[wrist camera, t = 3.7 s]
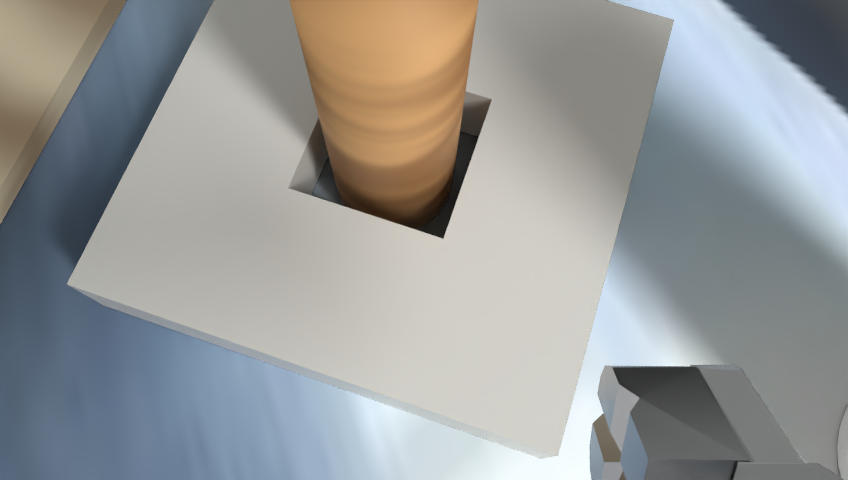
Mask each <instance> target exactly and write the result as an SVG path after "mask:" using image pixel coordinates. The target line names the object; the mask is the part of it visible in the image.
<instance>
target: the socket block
mask: <svg viewBox="0 0 848 480" xmlns="http://www.w3.org/2000/svg"><path fill="white" fill-rule="evenodd" d="M673 22H674V20H672V19H669V18H665V17H662V16H659V15H655V14H652V13H648V12H645V11H641V10H638V9H634V8H631V7H628V6H624V5H621V4H617V3H614V2H610V1H607V0H479V1H478V8H477V15H476V22H475V29H474V36H473V43H472V50H471V57H470V64H469V71H468V78H467V85H466V92H465V99H464V106H463V113H462V120H461V127H460V131H462V132H465V133H468V134H471V135H475V136H478V137H479V138H478V141H477V144H476V147H475V149H474V152H473V155H472V158H471V161H470V164H469V167H468V169H467V172H466V175H465V178H464V181H463V184H462V187H461V190H460V192H459V195H458V198H457V201H456V204H455V207H454V210H453V212H452V215H451V218H450V221H449V224H448V227H447V230H446V232H445V235H444V238H440V237H437V236H434V235H430V234H427V233H424V232H421V231H418V230H415V229H412V228H409V227H406V226H403V225H400V224H397V223H394V222H391V221H388V220H385V219H381V218H378V217H375V216H372V215H369V214H366V213H363V212H360V211H357V210H354V209H351V208H348V207H345V206H342V205H339V204H336V203H332V202H329V201H326V200H323V199H320V198H317V197H314V196H311V195H312V192H313V190H314V188H315V185H316V183H317V181H318V178H319V176H320V174H321V171H322V169H323V166H324V164H325V162H326V159H327V157H328V151H327V147H326V143H325V139H324V135H323V131H322V127H321V123H320V120H319V116H318V112H317V108H316V104H315V100H314V96H313V92H312V88H311V84H310V80H309V76H308V72H307V68H306V64H305V60H304V56H303V52H302V48H301V44H300V40H299V36H298V32H297V28H296V25H295V21H294V17H293V13H292V9H291V5H290V1H289V0H214V1H213V3H212V5H211V7H210V9H209V11H208V13H207V15H206V16H205V18H204V20H203V22H202V24H201V26H200V28H199V30H198V32H197V34H196V36H195V38H194V40H193V42H192V43H191V45H190V47H189V49H188V51H187V53H186V55H185V57H184V59H183V61H182V63H181V65H180V67H179V69H178V70H177V72H176V74H175V76H174V78H173V80H172V82H171V84H170V86H169V88H168V90H167V92H166V94H165V96H164V97H163V99H162V101H161V103H160V105H159V107H158V109H157V111H156V113H155V115H154V117H153V119H152V121H151V123H150V124H149V126H148V128H147V130H146V132H145V134H144V136H143V138H142V140H141V142H140V144H139V146H138V148H137V150H136V152H135V153H134V155H133V157H132V159H131V161H130V163H129V165H128V167H127V169H126V171H125V173H124V175H123V177H122V179H121V180H120V182H119V184H118V186H117V188H116V190H115V192H114V194H113V196H112V198H111V200H110V202H109V204H108V206H107V207H106V209H105V211H104V213H103V215H102V217H101V219H100V221H99V223H98V225H97V227H96V229H95V231H94V233H93V234H92V236H91V238H90V240H89V242H88V244H87V246H86V248H85V250H84V252H83V254H82V256H81V258H80V260H79V261H78V263H77V265H76V267H75V269H74V271H73V273H72V275H71V277H70V279H69V281H68V283H67V285H69V286H71V287H72V288H74V289H76V290H78V291H79V292H81V293H83V294H85V295H86V296H88V297H90V298H92V299H94V300H95V301H97V302H99V303H101V304H102V305H104V306H106V307H109V308H112V309H115V310H118V311H121V312H123V313H126V314H129V315H132V316H135V317H138V318H141V319H143V320H146V321H149V322H152V323H155V324H158V325H161V326H163V327H166V328H169V329H172V330H175V331H178V332H181V333H183V334H186V335H189V336H192V337H195V338H198V339H201V340H203V341H206V342H209V343H212V344H215V345H218V346H221V347H223V348H226V349H229V350H232V351H235V352H238V353H241V354H243V355H246V356H249V357H252V358H255V359H258V360H261V361H263V362H266V363H269V364H272V365H275V366H278V367H281V368H283V369H286V370H289V371H292V372H295V373H298V374H301V375H303V376H306V377H309V378H312V379H315V380H318V381H321V382H323V383H326V384H329V385H332V386H335V387H338V388H341V389H343V390H346V391H349V392H352V393H355V394H358V395H361V396H363V397H366V398H369V399H372V400H375V401H378V402H381V403H383V404H386V405H389V406H392V407H395V408H398V409H401V410H403V411H406V412H409V413H412V414H415V415H418V416H421V417H423V418H426V419H429V420H432V421H435V422H438V423H441V424H443V425H446V426H449V427H452V428H455V429H458V430H461V431H463V432H466V433H469V434H472V435H475V436H478V437H481V438H483V439H486V440H489V441H492V442H495V443H498V444H501V445H503V446H506V447H509V448H512V449H515V450H518V451H521V452H523V453H526V454H529V455H532V456H535V457H538V458H546V457H553V456H558V453H559V450H560V446H561V442H562V438H563V435H564V431H565V427H566V423H567V420H568V416H569V412H570V408H571V405H572V401H573V397H574V393H575V390H576V386H577V382H578V378H579V375H580V371H581V367H582V363H583V360H584V356H585V352H586V348H587V345H588V341H589V337H590V333H591V330H592V326H593V322H594V318H595V315H596V311H597V307H598V303H599V300H600V296H601V292H602V288H603V285H604V281H605V277H606V273H607V270H608V266H609V262H610V258H611V255H612V251H613V247H614V243H615V240H616V236H617V232H618V228H619V225H620V221H621V217H622V213H623V210H624V206H625V202H626V198H627V195H628V191H629V187H630V183H631V180H632V176H633V172H634V168H635V165H636V161H637V157H638V153H639V150H640V146H641V142H642V138H643V135H644V131H645V127H646V123H647V120H648V116H649V112H650V108H651V105H652V101H653V97H654V93H655V90H656V86H657V82H658V78H659V75H660V71H661V67H662V63H663V60H664V56H665V52H666V48H667V45H668V41H669V37H670V33H671V30H672V26H673Z"/></svg>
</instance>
